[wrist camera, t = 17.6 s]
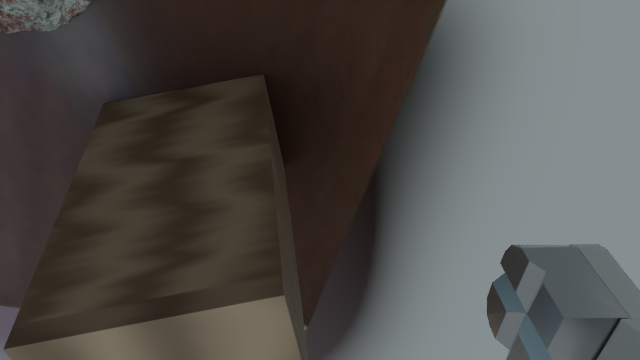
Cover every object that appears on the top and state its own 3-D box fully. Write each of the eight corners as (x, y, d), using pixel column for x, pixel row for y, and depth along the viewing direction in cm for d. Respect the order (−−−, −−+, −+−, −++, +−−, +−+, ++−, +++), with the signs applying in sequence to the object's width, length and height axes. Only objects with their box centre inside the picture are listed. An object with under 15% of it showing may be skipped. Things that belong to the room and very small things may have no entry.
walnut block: (141, 194, 55) (83, 454, 34) (103, 103, 49) (3, 349, 28) (284, 167, 55) (314, 408, 34) (263, 73, 49) (284, 295, 28)
